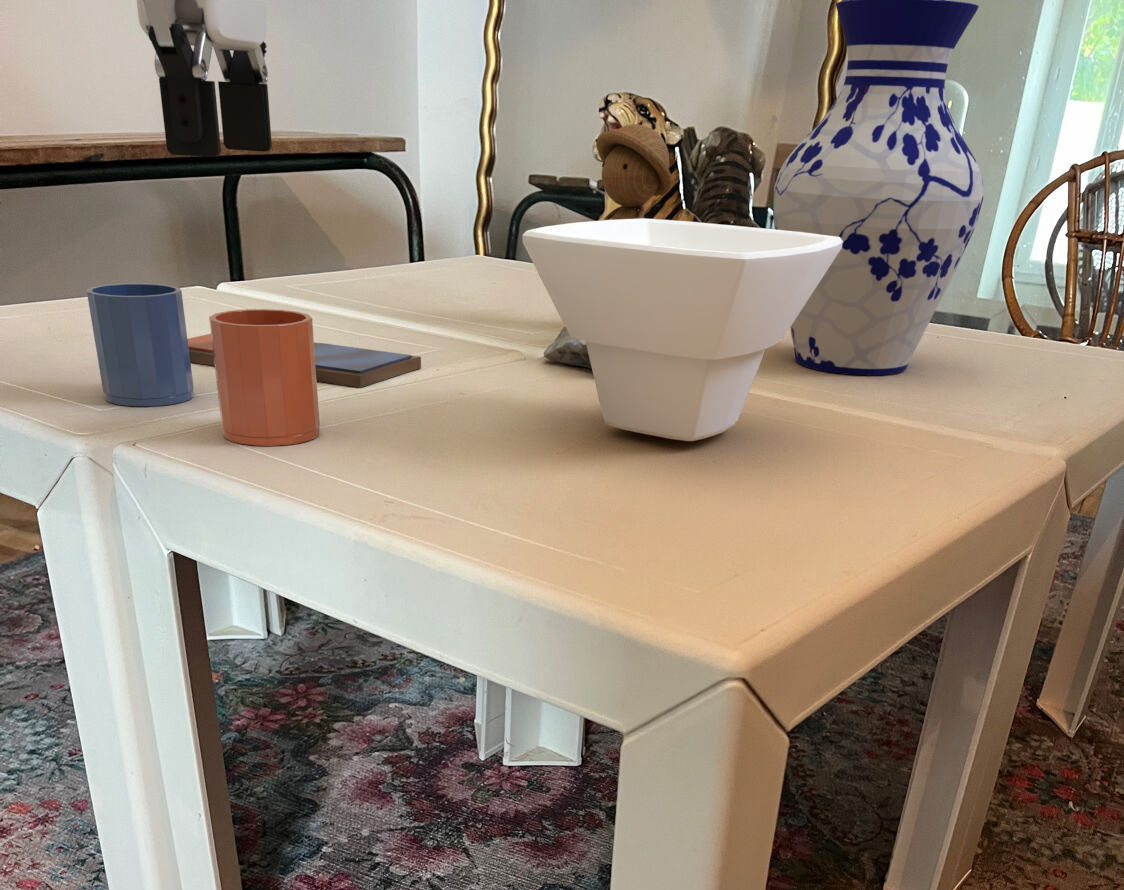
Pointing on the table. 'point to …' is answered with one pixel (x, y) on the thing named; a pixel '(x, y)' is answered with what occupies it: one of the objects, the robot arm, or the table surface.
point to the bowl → (677, 311)
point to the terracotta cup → (265, 376)
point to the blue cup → (141, 344)
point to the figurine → (633, 168)
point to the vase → (883, 189)
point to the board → (333, 362)
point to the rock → (568, 350)
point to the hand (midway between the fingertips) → (222, 152)
